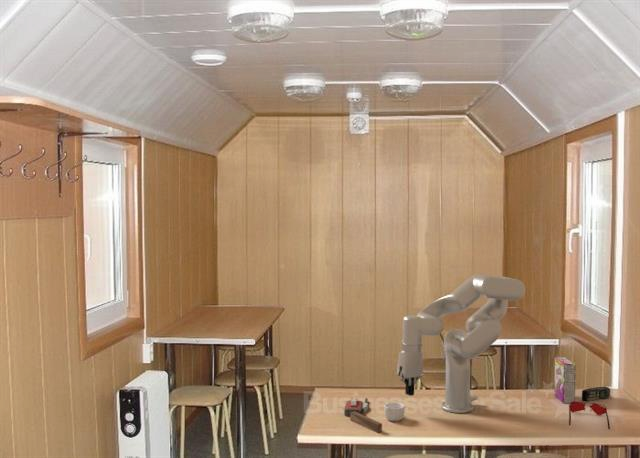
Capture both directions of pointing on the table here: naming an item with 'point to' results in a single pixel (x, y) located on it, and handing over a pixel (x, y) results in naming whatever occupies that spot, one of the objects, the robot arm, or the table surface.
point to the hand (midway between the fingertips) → (409, 394)
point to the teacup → (394, 411)
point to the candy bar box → (564, 380)
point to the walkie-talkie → (355, 406)
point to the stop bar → (366, 422)
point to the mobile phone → (595, 393)
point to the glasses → (581, 406)
